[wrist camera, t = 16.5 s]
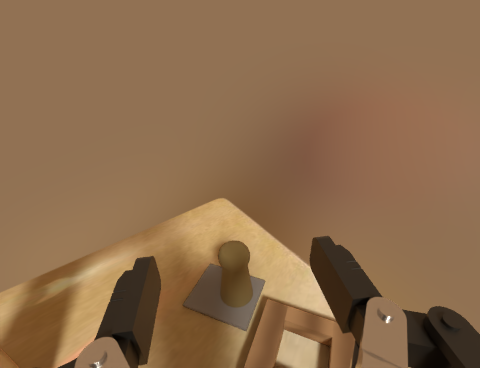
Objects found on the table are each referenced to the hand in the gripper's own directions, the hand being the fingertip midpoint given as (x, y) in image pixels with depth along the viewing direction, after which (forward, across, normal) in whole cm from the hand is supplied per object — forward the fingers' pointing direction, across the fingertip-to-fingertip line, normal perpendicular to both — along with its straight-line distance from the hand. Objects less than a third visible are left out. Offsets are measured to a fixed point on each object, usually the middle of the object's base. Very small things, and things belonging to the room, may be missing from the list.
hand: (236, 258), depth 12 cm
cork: (+20, -1, +30) cm, 36 cm away
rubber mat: (+20, +1, +30) cm, 36 cm away
